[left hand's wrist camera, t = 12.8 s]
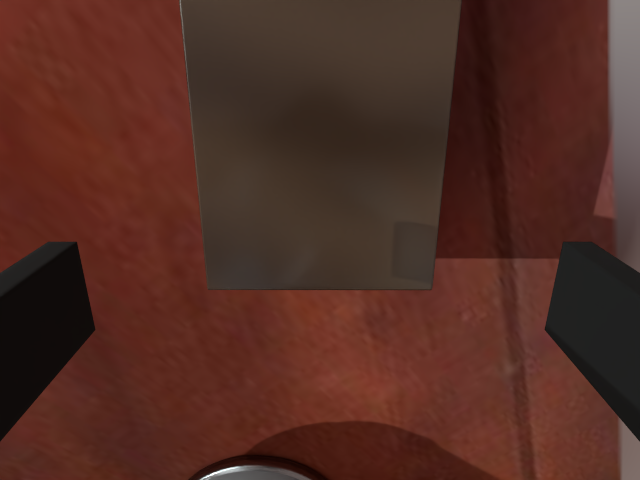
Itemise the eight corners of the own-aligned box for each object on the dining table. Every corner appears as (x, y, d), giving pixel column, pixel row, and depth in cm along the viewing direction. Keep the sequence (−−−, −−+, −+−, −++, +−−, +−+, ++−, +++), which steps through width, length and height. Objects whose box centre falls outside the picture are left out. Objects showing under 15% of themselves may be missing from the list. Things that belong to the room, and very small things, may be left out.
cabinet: (221, -72, 24) (162, -154, 15) (419, -72, 24) (478, -153, 15) (240, 224, 30) (207, 290, 21) (399, 224, 30) (432, 290, 21)
